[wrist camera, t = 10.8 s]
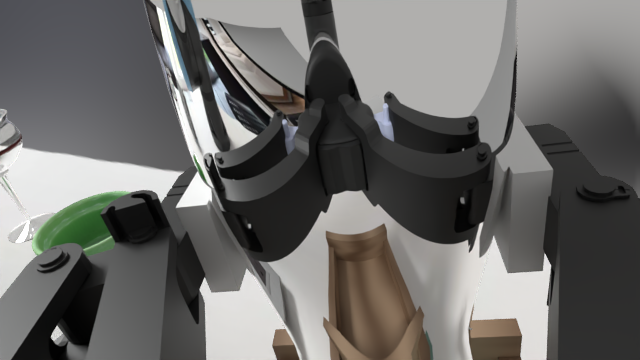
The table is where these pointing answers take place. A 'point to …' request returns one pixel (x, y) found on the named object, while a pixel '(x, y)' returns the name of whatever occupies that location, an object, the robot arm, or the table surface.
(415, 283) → the chrome pint tumbler
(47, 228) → the ramekin
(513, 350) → the caddy
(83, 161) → the table surface
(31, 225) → the wineglass
